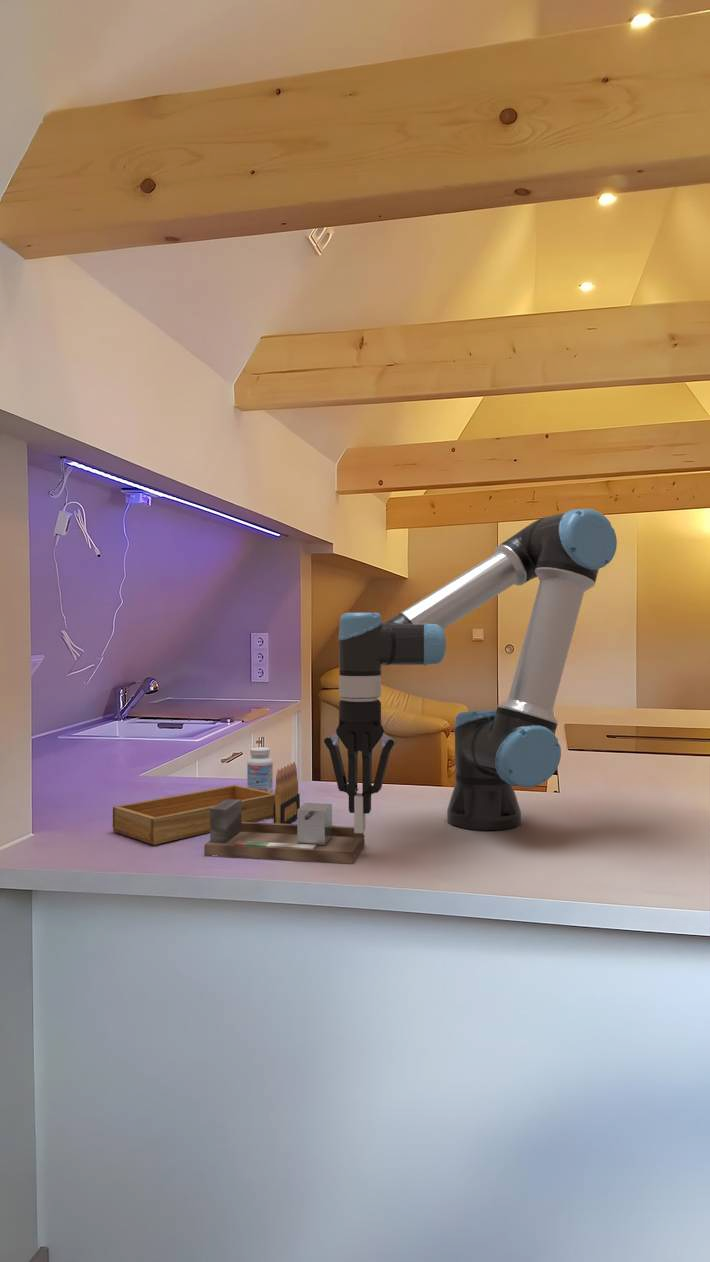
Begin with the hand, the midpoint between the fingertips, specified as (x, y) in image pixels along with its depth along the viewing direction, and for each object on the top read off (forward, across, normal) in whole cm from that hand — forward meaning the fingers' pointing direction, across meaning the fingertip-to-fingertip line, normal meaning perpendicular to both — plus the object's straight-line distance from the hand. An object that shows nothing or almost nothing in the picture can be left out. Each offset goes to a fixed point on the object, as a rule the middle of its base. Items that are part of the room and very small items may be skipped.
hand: (359, 831), depth 138 cm
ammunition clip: (+5, +19, -19) cm, 27 cm away
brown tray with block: (+4, +14, 0) cm, 14 cm away
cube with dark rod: (+2, +8, +1) cm, 9 cm away
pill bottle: (+5, +33, -43) cm, 55 cm away
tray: (+5, +37, -15) cm, 40 cm away
